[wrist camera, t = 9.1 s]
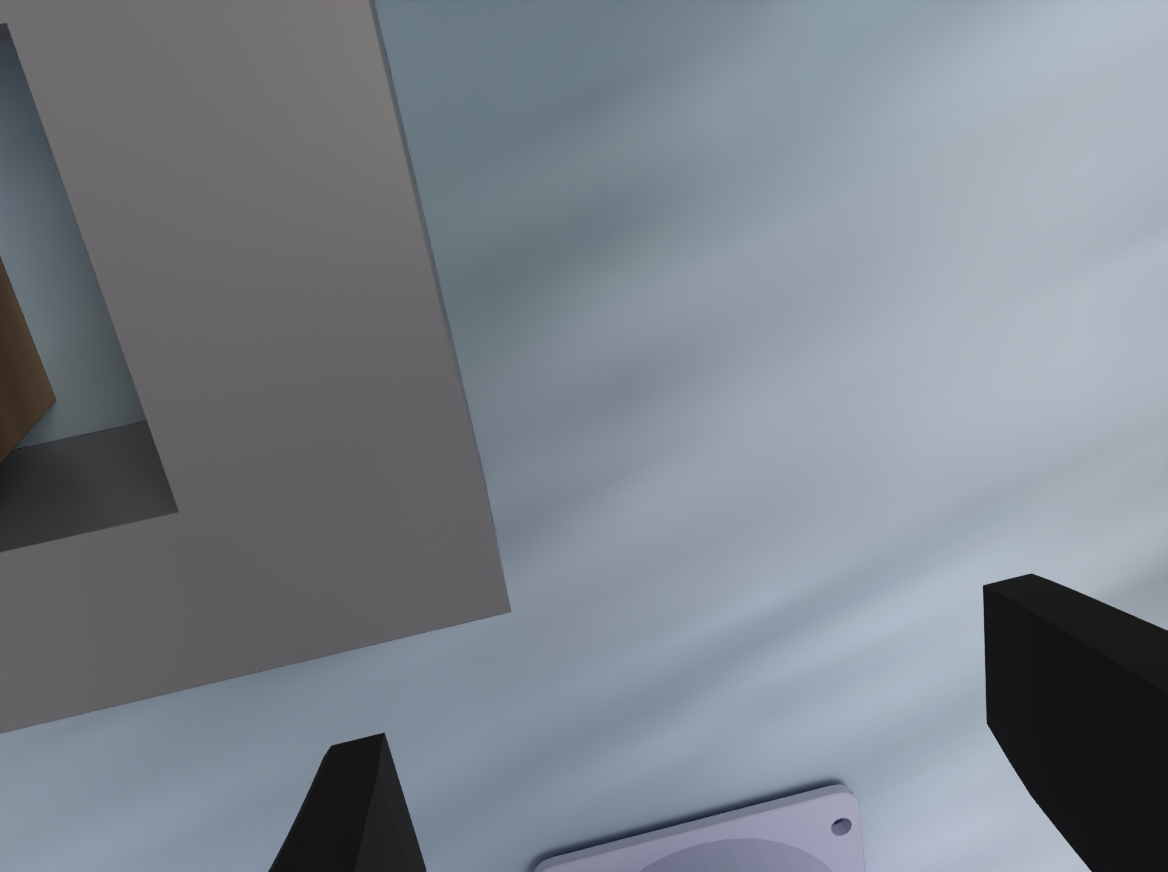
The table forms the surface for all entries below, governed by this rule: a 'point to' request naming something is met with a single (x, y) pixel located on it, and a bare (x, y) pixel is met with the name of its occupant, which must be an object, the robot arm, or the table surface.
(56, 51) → the well block
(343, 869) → the robot arm
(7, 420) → the walnut block
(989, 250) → the table surface
